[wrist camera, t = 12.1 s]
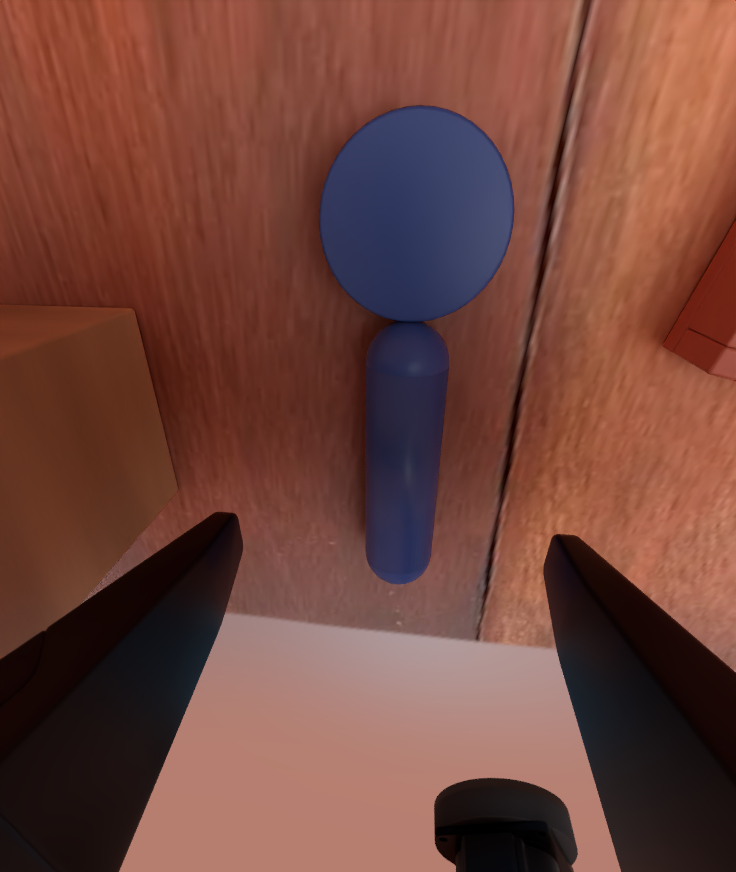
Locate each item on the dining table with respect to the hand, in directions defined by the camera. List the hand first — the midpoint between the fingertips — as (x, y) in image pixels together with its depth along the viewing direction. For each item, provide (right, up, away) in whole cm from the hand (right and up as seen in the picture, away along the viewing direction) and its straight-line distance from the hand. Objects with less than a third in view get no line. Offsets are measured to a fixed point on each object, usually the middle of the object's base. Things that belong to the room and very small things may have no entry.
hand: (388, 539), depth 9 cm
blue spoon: (+1, +3, +3) cm, 5 cm away
